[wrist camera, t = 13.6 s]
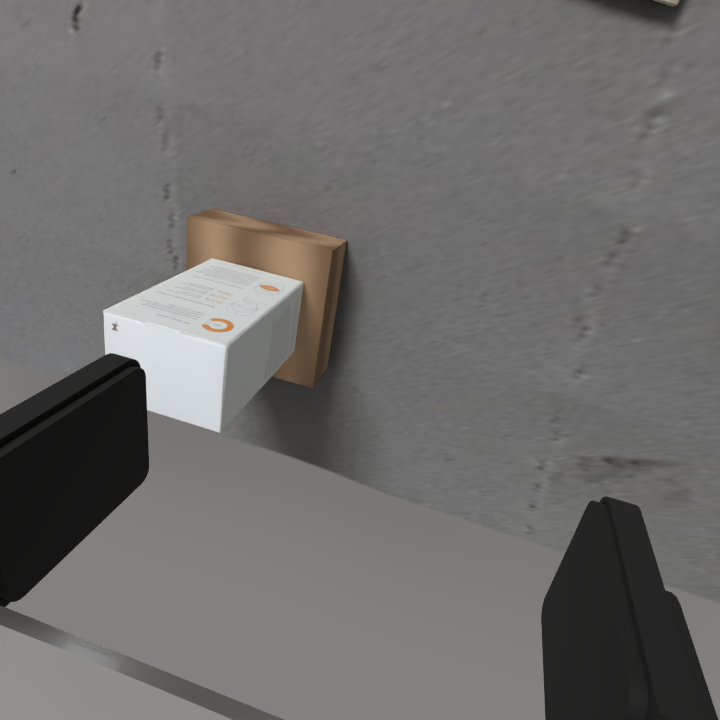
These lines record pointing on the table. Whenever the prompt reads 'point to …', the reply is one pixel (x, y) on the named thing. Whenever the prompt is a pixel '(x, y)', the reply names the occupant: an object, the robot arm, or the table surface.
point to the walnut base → (285, 258)
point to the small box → (207, 338)
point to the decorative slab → (669, 2)
